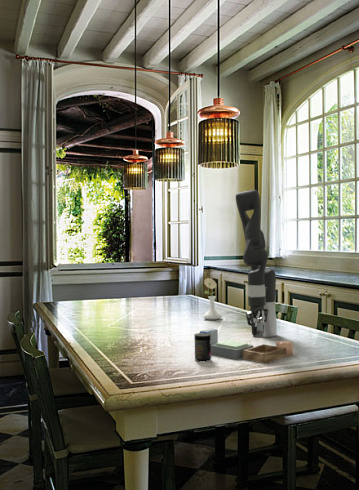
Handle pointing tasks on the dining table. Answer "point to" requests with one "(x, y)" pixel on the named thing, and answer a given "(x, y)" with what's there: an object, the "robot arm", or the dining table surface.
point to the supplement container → (202, 346)
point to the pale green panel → (231, 344)
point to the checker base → (229, 351)
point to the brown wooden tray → (264, 353)
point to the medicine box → (212, 335)
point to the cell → (259, 329)
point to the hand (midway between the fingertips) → (257, 333)
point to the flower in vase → (211, 301)
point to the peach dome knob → (286, 346)
